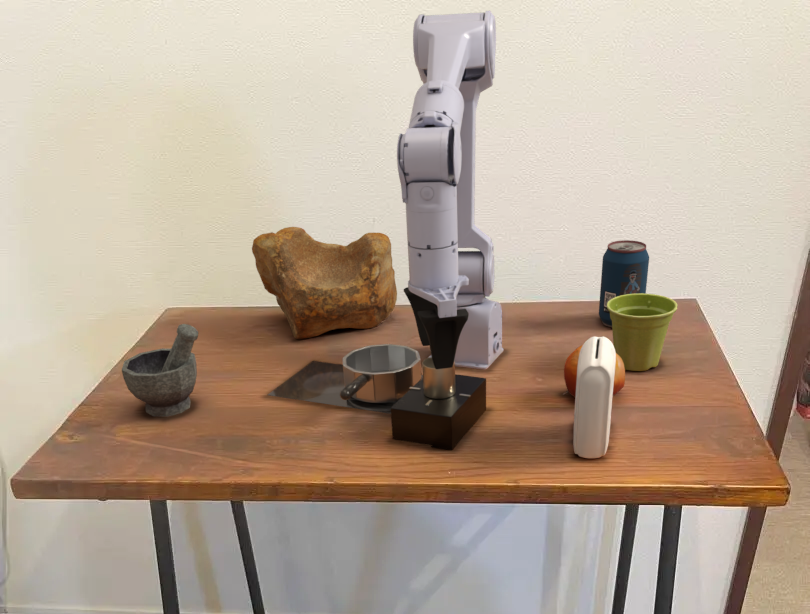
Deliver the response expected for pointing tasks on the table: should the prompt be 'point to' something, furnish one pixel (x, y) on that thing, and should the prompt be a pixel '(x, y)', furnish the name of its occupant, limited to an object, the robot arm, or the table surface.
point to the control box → (439, 413)
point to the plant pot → (640, 328)
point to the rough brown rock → (327, 280)
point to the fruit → (571, 373)
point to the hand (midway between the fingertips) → (436, 355)
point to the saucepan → (380, 373)
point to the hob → (323, 388)
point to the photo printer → (594, 397)
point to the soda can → (622, 273)
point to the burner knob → (438, 380)
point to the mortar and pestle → (164, 375)
